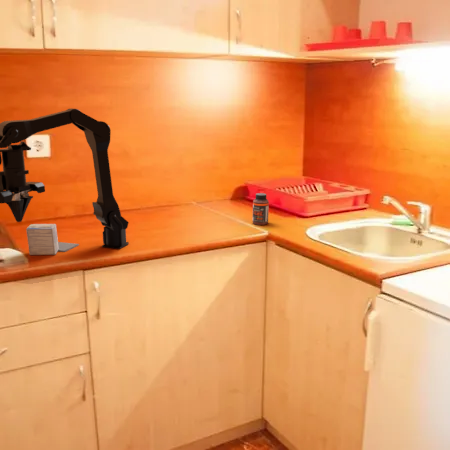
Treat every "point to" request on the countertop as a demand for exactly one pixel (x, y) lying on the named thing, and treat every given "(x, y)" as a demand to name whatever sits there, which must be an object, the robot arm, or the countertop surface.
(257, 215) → the supplement bottle
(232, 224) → the countertop surface
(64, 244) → the mat
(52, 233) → the medicine box
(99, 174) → the robot arm
